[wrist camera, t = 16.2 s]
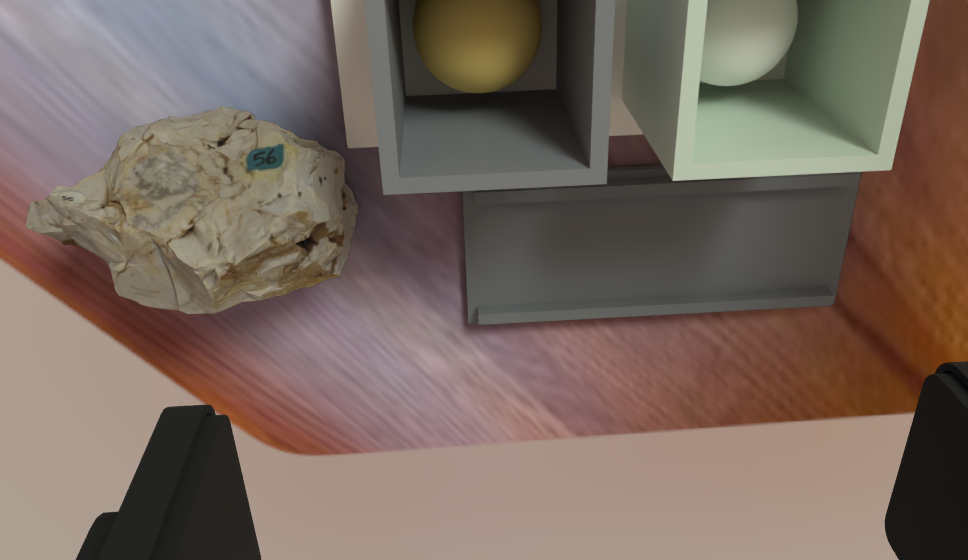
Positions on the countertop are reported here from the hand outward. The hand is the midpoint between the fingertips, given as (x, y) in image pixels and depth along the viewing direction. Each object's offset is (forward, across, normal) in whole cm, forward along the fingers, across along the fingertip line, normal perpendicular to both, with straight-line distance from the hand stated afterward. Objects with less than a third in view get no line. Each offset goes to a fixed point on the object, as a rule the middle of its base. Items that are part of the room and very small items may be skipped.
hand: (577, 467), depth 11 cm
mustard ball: (+27, 0, 0) cm, 27 cm away
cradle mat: (+28, -8, +12) cm, 32 cm away
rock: (+29, +12, +6) cm, 32 cm away
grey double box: (+28, -5, 0) cm, 29 cm away
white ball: (+27, -10, 0) cm, 29 cm away
